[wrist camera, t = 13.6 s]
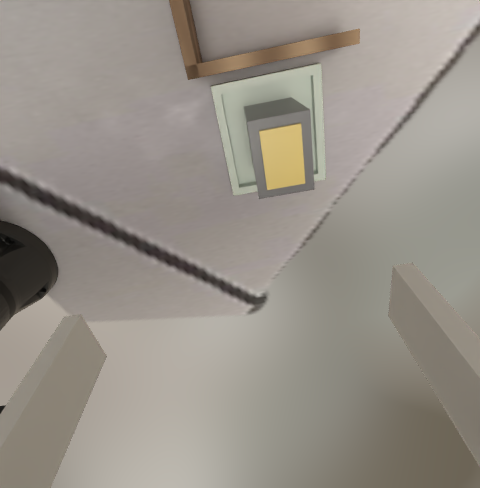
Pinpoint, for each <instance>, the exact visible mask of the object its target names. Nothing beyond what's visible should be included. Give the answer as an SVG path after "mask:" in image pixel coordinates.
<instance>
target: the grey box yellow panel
mask: <svg viewBox="0 0 480 488" xmlns="http://www.w3.org/2000/svg"><path fill="white" fill-rule="evenodd" d="M244 112H245V118H246V124H247V131H248V137H249V143H250V150H251V156H252V163H253V169H254V174H255V180H256V185H257V190H258V196H259V199H261V198H267V197H273V196H279V195H285V194H291V193H296V192H302V191H308V190H314V170H313V151H312V133H311V114H310V109H309V108H307V107H305V106H304V105H302V104H301V103H299V102H298V101H296V100H295V99H293V98H292V97H290V98H285V99H280V100H275V101H270V102H264V103H259V104H254V105H249V106H244Z"/></svg>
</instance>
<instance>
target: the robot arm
mask: <svg viewBox="0 0 480 488" xmlns="http://www.w3.org/2000/svg"><path fill="white" fill-rule="evenodd" d="M57 275H58V269H57V264H56V261H55V259H54V257H53V255H52V253H51V252H50V250H49V249H48V248H47V247H46V245H45V244H44V243H43V242H42V241H40V240H39V239H38V238H37V237H35V236H34V235H33V234H31V233H30V232H28V231H26V230H24V229H22V228H20V227H18V226H15V225H13V224H9V223H6V222H1V221H0V330H1V329H2V328H3V327H4V326H5V324H6V323H7V322H8V321H9V320H10V319H11V317H12V316H13V315H15V314H16V313H18V312H19V311H21V310H23V309H25V308H27V307H28V306H30V305H32V304H33V303H35V302H37V301H38V300H40V299H42V298H43V297H44V296H45V295H46V294H47V293H48V292H49V290H50V289H51V288H52V287H53V285H54V284H55V282H56V280H57ZM388 316H389V318H390V319H391V321H392V323H393V324H394V326H395V328H396V329H397V331H398V333H399V334H400V336H401V338H402V339H403V341H404V343H405V344H406V346H407V348H408V349H409V351H410V353H411V354H412V356H413V358H414V359H415V361H416V362H417V364H418V366H419V367H420V369H421V371H422V372H423V374H424V376H425V377H426V379H427V381H428V382H429V384H430V386H431V387H432V389H433V391H434V392H435V394H436V395H437V397H438V399H439V400H440V402H441V403H442V405H443V407H444V409H445V410H446V412H447V414H448V415H449V417H450V419H451V420H452V422H453V424H454V425H455V427H456V429H457V430H458V432H459V433H460V435H461V437H462V438H463V440H464V442H465V443H466V445H467V447H468V449H469V450H470V452H471V453H472V455H473V457H474V458H475V460H476V462H477V463H478V465H479V467H480V338H479V337H478V336H477V335H476V334H475V333H474V331H473V330H472V329H471V328H470V327H469V326H468V325H467V324H466V322H465V321H464V320H463V319H462V318H461V317H460V316H459V314H458V313H457V312H456V311H455V310H454V309H453V308H452V307H451V305H450V304H449V303H448V302H447V301H446V300H445V299H444V297H443V296H442V295H441V294H440V293H439V292H438V291H437V290H436V288H435V287H434V286H433V285H432V284H431V283H430V282H429V281H428V279H427V278H426V277H425V276H424V275H423V274H422V273H421V271H420V270H419V269H418V268H417V267H416V266H415V265H414V264H413V263H407V264H400V265H394V266H393V269H392V280H391V291H390V303H389V314H388ZM106 357H107V356H106V354H105V353H104V351H103V349H102V348H101V346H100V344H99V343H98V341H97V340H96V338H95V337H94V335H93V333H92V332H91V330H90V328H89V327H88V325H87V323H86V322H85V320H84V319H83V317H82V315H81V314H80V315H73V316H67V317H64V318H63V319H62V321H61V323H60V324H59V326H58V327H57V329H56V330H55V332H54V333H53V335H52V336H51V338H50V339H49V341H48V342H47V344H46V345H45V347H44V349H43V350H42V351H41V353H40V355H39V356H38V358H37V359H36V361H35V362H34V364H33V365H32V367H31V368H30V370H29V371H28V373H27V374H26V376H25V377H24V379H23V380H22V382H21V383H20V385H19V387H18V388H17V390H16V391H15V393H14V394H13V396H12V397H11V399H10V400H9V402H8V403H7V405H5V406H0V488H51V485H52V483H53V481H54V479H55V476H56V474H57V472H58V469H59V467H60V464H61V462H62V460H63V457H64V455H65V453H66V451H67V448H68V446H69V444H70V441H71V439H72V436H73V434H74V432H75V429H76V427H77V425H78V422H79V420H80V418H81V415H82V413H83V411H84V408H85V406H86V404H87V401H88V399H89V397H90V394H91V392H92V390H93V387H94V385H95V382H96V380H97V378H98V376H99V373H100V371H101V368H102V366H103V364H104V362H105V359H106Z"/></svg>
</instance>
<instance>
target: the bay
mask: <svg viewBox="0 0 480 488" xmlns="http://www.w3.org/2000/svg"><path fill="white" fill-rule="evenodd" d="M169 2H170V6H171V10H172V15H173V19H174V23H175V27H176V31H177V35H178V39H179V44H180V48H181V52H182V56H183V60H184V64H185V69H186V73H187V77H188V80H190V79H195V78H200V77H204V76H209V75H214V74H218V73H223V72H228V71H232V70H237V69H242V68H246V67H251V66H256V65H260V64H265V63H270V62H274V61H279V60H284V59H289V58H293V57H298V56H303V55H307V54H312V53H317V52H321V51H326V50H331V49H335V48H340V47H345V46H349V45H354V44H359V43H360V29H355V30H351V31H346V32H342V33H337V34H332V35H328V36H323V37H319V38H314V39H309V40H305V41H300V42H296V43H291V44H286V45H282V46H277V47H273V48H268V49H263V50H259V51H254V52H250V53H245V54H240V55H236V56H231V57H226V58H222V59H217V60H213V61H208V62H202V57H201V53H200V48H199V43H198V39H197V34H196V29H195V25H194V20H193V15H192V11H191V6H190V1H189V0H169Z"/></svg>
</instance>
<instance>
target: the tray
mask: <svg viewBox="0 0 480 488" xmlns="http://www.w3.org/2000/svg"><path fill="white" fill-rule="evenodd" d="M211 90H212V95H213V100H214V105H215V110H216V114H217V119H218V124H219V129H220V133H221V138H222V143H223V148H224V153H225V157H226V162H227V167H228V172H229V177H230V181H231V186H232V191H233V196H236V195H241V194H247V193H252V192H258V190H257V185H256V180H255V174H254V169H253V163H252V156H251V150H250V143H249V137H248V131H247V124H246V118H245V112H244V106H249V105H254V104H259V103H264V102H270V101H275V100H280V99H285V98H290V97H292V98H293V99H295V100H296V101H298V102H299V103H301V104H302V105H304V106H305V107H307V108H309V109H310V114H311V133H312V151H313V170H314V181H319V180H324V179H326V169H325V144H324V119H323V95H322V70H321V63H316V64H312V65H307V66H302V67H298V68H293V69H288V70H283V71H279V72H274V73H269V74H264V75H260V76H255V77H250V78H245V79H241V80H236V81H231V82H226V83H222V84H217V85H212V86H211Z"/></svg>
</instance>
